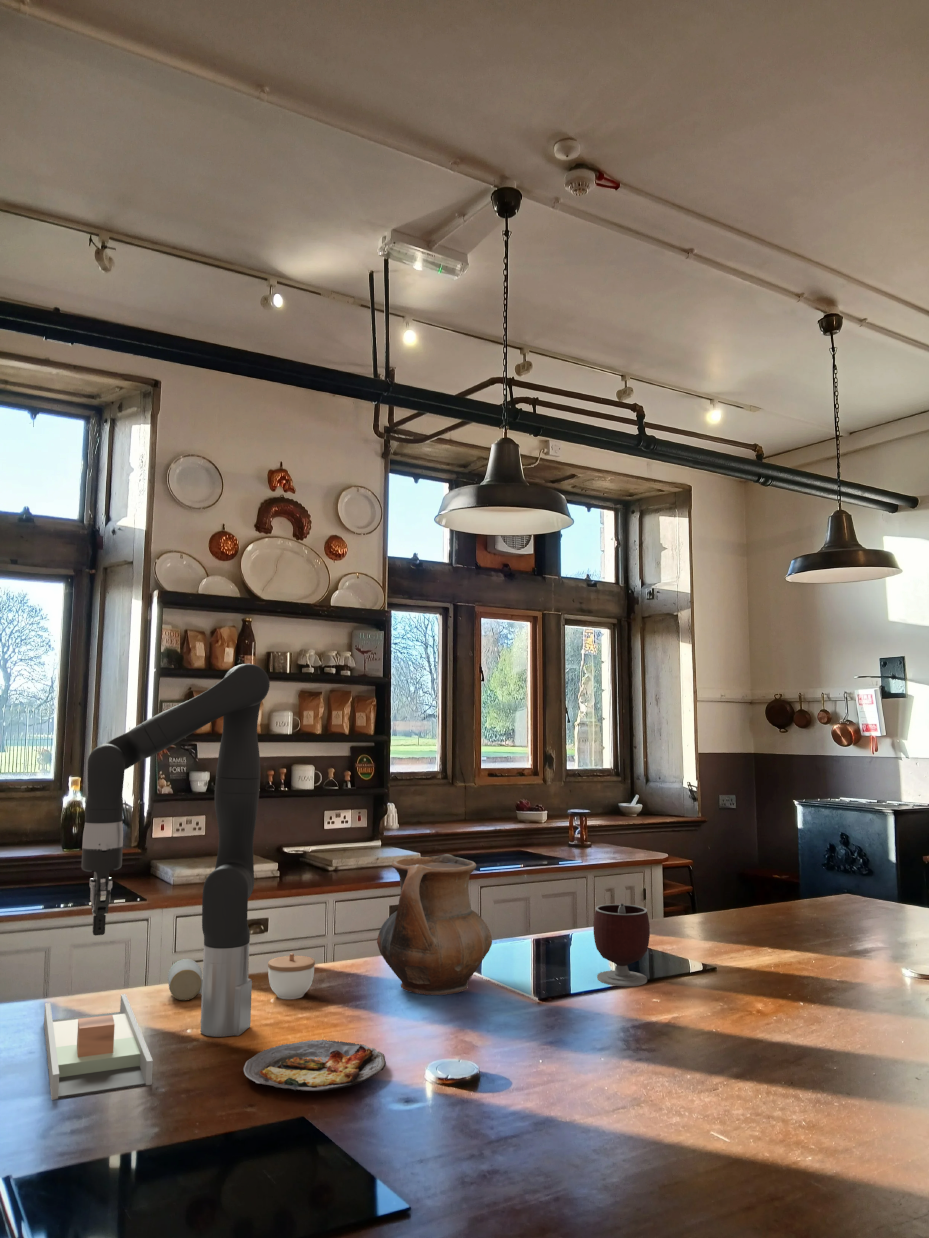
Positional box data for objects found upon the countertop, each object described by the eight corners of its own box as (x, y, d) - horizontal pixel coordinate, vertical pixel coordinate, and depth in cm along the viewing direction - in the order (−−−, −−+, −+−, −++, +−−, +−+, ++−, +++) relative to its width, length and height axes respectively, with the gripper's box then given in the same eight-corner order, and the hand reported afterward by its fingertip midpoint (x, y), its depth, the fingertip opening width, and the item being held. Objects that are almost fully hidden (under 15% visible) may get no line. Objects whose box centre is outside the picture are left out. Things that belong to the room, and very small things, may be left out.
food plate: (405, 1059, 174) (404, 1039, 175) (350, 1109, 152) (350, 1086, 153) (287, 1046, 182) (287, 1028, 183) (219, 1092, 160) (219, 1071, 161)
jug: (493, 1005, 208) (493, 869, 212) (368, 1004, 209) (371, 868, 212) (490, 968, 241) (491, 850, 244) (383, 966, 241) (385, 849, 244)
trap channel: (43, 1022, 194) (45, 1002, 194) (124, 1013, 201) (125, 993, 201) (51, 1099, 154) (52, 1074, 155) (151, 1084, 161) (152, 1060, 162)
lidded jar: (291, 986, 222) (292, 946, 223) (323, 994, 216) (324, 952, 217) (257, 996, 214) (258, 954, 215) (289, 1005, 207) (291, 962, 208)
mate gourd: (593, 970, 239) (593, 891, 241) (648, 973, 237) (647, 893, 239) (593, 987, 223) (593, 902, 226) (652, 990, 222) (651, 904, 224)
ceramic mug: (168, 1003, 208) (170, 968, 209) (166, 993, 216) (168, 959, 217) (216, 1000, 212) (218, 965, 212) (213, 990, 219) (215, 956, 220)
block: (76, 1046, 173) (78, 1018, 173) (111, 1042, 175) (112, 1014, 176) (77, 1057, 167) (79, 1028, 168) (113, 1052, 170) (114, 1024, 170)
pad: (53, 1061, 172) (54, 1047, 172) (133, 1050, 178) (133, 1036, 178) (55, 1080, 163) (56, 1065, 163) (139, 1067, 169) (140, 1053, 169)
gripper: (80, 842, 189) (75, 929, 187) (84, 850, 177) (80, 943, 175) (119, 840, 193) (115, 926, 191) (126, 847, 181) (122, 939, 179)
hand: (98, 934), depth 183 cm, fingers closed
